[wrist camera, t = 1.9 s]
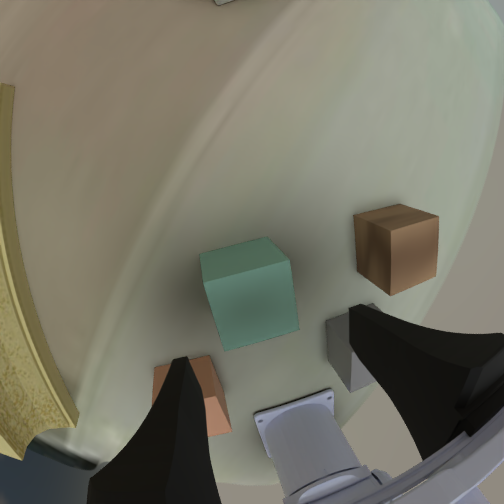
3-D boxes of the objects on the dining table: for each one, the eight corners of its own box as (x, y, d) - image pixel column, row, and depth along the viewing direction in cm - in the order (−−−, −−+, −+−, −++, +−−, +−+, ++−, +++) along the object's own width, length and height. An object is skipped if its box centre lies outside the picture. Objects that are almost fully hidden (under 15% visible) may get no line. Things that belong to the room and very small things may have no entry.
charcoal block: (370, 342, 24) (396, 370, 20) (327, 359, 24) (350, 392, 20) (372, 302, 23) (403, 329, 19) (325, 320, 22) (351, 352, 18)
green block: (277, 295, 20) (299, 329, 16) (216, 312, 20) (224, 351, 16) (266, 236, 19) (289, 259, 15) (199, 253, 18) (203, 282, 14)
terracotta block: (223, 391, 23) (232, 431, 18) (174, 402, 22) (175, 442, 18) (209, 354, 21) (215, 396, 17) (154, 366, 20) (151, 408, 16)
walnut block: (400, 256, 22) (435, 276, 18) (356, 271, 21) (390, 296, 17) (399, 203, 20) (438, 216, 16) (352, 214, 20) (390, 230, 16)
